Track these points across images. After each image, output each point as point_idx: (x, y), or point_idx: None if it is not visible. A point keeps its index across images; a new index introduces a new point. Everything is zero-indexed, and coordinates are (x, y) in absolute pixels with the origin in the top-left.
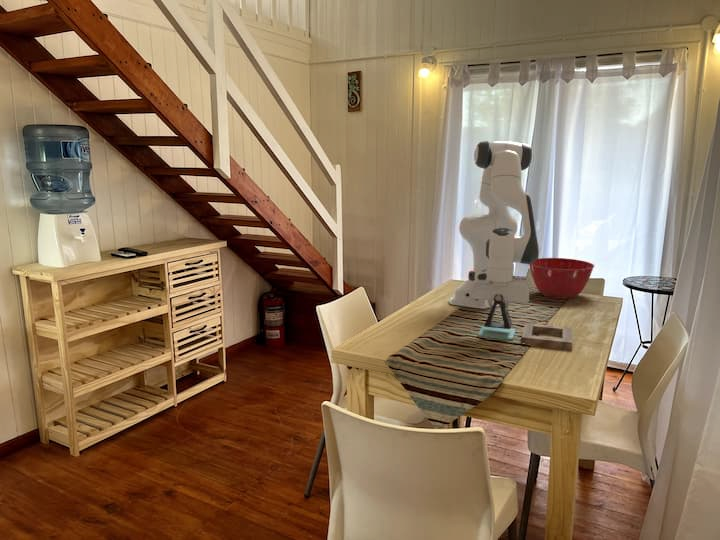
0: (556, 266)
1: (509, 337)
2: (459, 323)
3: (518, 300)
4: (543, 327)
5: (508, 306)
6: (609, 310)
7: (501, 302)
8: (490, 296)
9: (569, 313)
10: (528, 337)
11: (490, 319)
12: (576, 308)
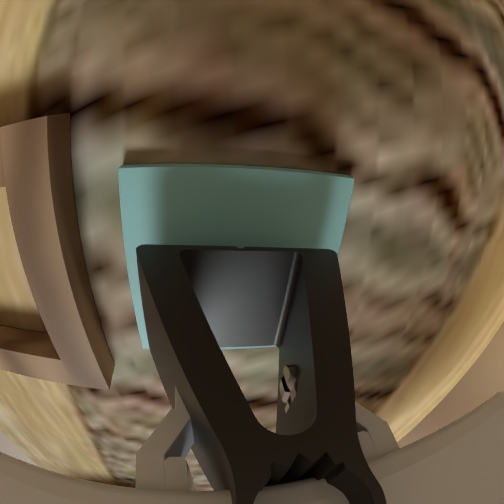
0: None
1: (141, 181)
2: (390, 341)
3: (21, 487)
4: (24, 351)
5: (150, 439)
6: (37, 462)
7: (245, 473)
8: (410, 493)
9: (79, 460)
10: (11, 135)
11: (312, 284)
12: (85, 473)
